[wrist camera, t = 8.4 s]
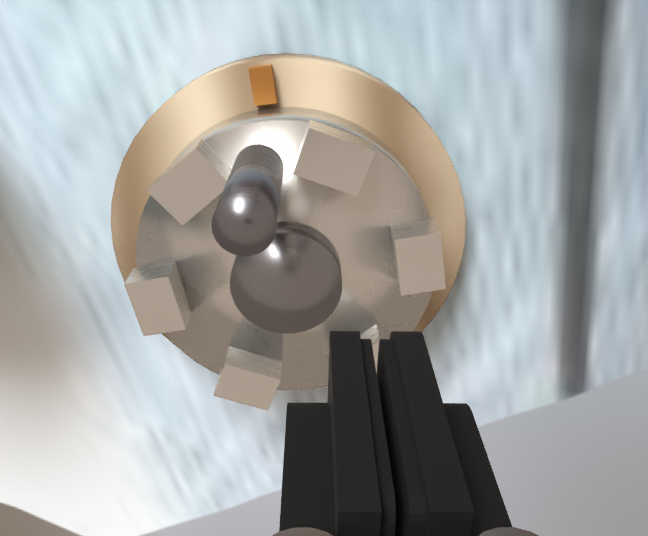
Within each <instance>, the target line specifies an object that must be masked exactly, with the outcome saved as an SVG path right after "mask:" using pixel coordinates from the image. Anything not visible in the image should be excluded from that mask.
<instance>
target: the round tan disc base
mask: <svg viewBox="0 0 648 536" xmlns="http://www.w3.org/2000/svg"><path fill="white" fill-rule="evenodd" d="M272 107H302V108H308V109H315V110H320V111H324V112H327V113H330V114H334V115H337V116H340V117H342V118H344V119H347V120H349V121H351V122H353V123H356V124H358V125H359V126H361V127H362V128H364V129H366V130H367V131H369V132H370V133H372V134H374V135H375V136H376V137H377V138H378V139H380V140H381V141H382V142H383V143H384V144H386V145H387V146H388V147H389V148H390V149H391V150H392V151H393V152H394V154H395V155H396V156H397V157H398V158H399V159H400V160H401V162H402V163H403V164H404V166H405V167H406V169H407V170H408V172H409V173H410V175H411V176H412V178H413V181H414V183H415V185H416V187H417V189H418V191H419V193H420V195H421V197H422V199H423V201H424V203H425V206H426V208H427V210H428V212H429V215H430V218H431V219H435V221H436V224H437V226H438V228H439V230H440V232H441V241H442V252H443V263H444V274H445V286H446V289H442V290H436V291H432V295H431V298H430V301H429V303H428V305H427V308H426V310H425V312H424V314H423V316H422V318H421V319H420V321H419V323H418V324H417V326H416V328H415V329H414V330H413V331H421V332H422V331H423V329H424V328H425V327H426V326H427V325H428V324H429V323H430V321H431V320H432V319H433V318H434V317H435V315H436V314H437V312H438V311H439V309H440V308H441V306H442V305H443V303H444V302H445V300H446V298H447V296H448V294H449V292H450V290H451V288H452V286H453V284H454V282H455V279H456V276H457V273H458V270H459V267H460V264H461V260H462V255H463V250H464V244H465V228H466V218H465V208H464V199H463V195H462V191H461V187H460V183H459V179H458V176H457V174H456V171H455V169H454V166H453V164H452V161H451V159H450V157H449V155H448V153H447V152H446V150H445V148H444V147H443V145H442V143H441V141H440V140H439V138H438V136H437V135H436V134H435V132H434V131H433V130H432V128H431V127H430V126H429V124H428V123H427V122H426V121H425V119H424V118H423V117H422V116H421V114H420V113H419V112H418V110H417V109H416V108H415V107H414V106H413V105H411V104H410V103H409V102H408V101H407V100H406V99H405V98H404V97H403V96H402V95H401V94H400V93H399V92H397V91H396V90H394V89H393V88H392V87H390V86H389V85H387V84H386V83H385V82H383V81H382V80H380V79H378V78H376V77H375V76H373V75H371V74H369V73H367V72H365V71H363V70H361V69H359V68H357V67H354V66H351V65H348V64H345V63H343V62H340V61H337V60H333V59H328V58H324V57H319V56H314V55H305V54H290V53H283V54H269V55H259V56H254V57H250V58H245V59H240V60H236V61H234V62H231V63H228V64H225V65H223V66H220V67H217V68H215V69H213V70H211V71H209V72H207V73H205V74H203V75H201V76H200V77H198V78H196V79H194V80H193V81H191V82H190V83H188V84H187V85H186V86H184V87H183V88H182V89H180V90H179V91H178V92H176V93H175V94H174V95H173V96H172V97H171V98H170V99H168V100H167V101H166V102H165V103H164V104H163V105H162V106H161V107H160V108H159V109H158V110H157V111H156V112H155V113H154V114H153V115H152V116H151V117H150V118H149V119H148V120H147V122H146V123H145V124H144V126H143V127H142V129H141V130H140V131H139V133H138V134H137V135H136V137H135V138H134V140H133V142H132V143H131V145H130V147H129V149H128V151H127V153H126V155H125V157H124V158H123V161H122V164H121V167H120V170H119V173H118V175H117V178H116V182H115V187H114V192H113V198H112V207H111V230H112V240H113V247H114V251H115V255H116V259H117V263H118V266H119V269H120V271H121V274H122V276H123V279H124V281H125V282H126V280H127V278H128V277H129V275H130V273H131V271H132V270H133V268H137V267H136V238H137V232H138V226H139V222H140V219H141V216H142V213H143V210H144V207H145V205H146V203H147V201H148V199H149V197H150V194H149V193H148V192H147V191H148V189H149V188H150V187H151V185H152V184H153V182H154V181H155V180H156V179H157V178H158V177H159V176H160V175H161V174H162V173H163V172H165V171H166V170H167V169H168V168H169V166H170V165H171V164H172V162H173V161H174V159H175V158H176V157H177V155H178V154H179V153H180V152H181V151H182V150H183V149H184V148H185V147H186V146H187V145H188V144H189V143H190V142H191V141H192V140H194V139H195V138H196V137H197V136H199V135H200V134H201V133H203V132H204V131H205V130H207V129H209V128H210V127H212V126H214V125H216V124H217V123H219V122H221V121H223V120H226V119H228V118H231V117H233V116H236V115H238V114H241V113H245V112H249V111H253V110H257V109H263V108H272ZM162 334H163V335H164V336H165V337H166V338H167V339H169V337H168V336H167V335H166V334H165V333H162ZM169 340H170V339H169ZM170 341H171V340H170ZM171 342H172V341H171ZM172 343H173V342H172ZM173 344H175V343H173ZM175 345H176V344H175ZM176 346H177V345H176ZM177 347H178V346H177ZM178 348H179V347H178Z"/></svg>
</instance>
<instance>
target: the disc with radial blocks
mask: <svg viewBox="0 0 648 536" xmlns="http://www.w3.org/2000/svg"><path fill="white" fill-rule="evenodd" d="M147 192H148V193H149V194H150V197H149V199H148V201H147V203H146V205H145V207H144V210H143V213H142V216H141V219H140V222H139V226H138V232H137V238H136V267H137V268H133V270H132V271H131V273H130V275H129V277H128V278H127V280H126V282H125V283H124V285H125V287H126V290H127V293H128V295H129V298H130V301H131V303H132V306H133V309H134V311H135V314H136V317H137V320H138V322H139V325H140V328H141V330H142V333H143V336H148V335H154V334H160V333H165V334H166V335H167V336H168V337H169V339H170V340H171V341H172V342H173V343H175V344H176V345H177V346H178V347H179V348H180V349H181V350H182V351H183V352H184V353H185V354H187V355H188V356H189V357H191V358H192V359H193V360H195V361H196V362H197V363H199V364H201V365H202V366H204V367H206V368H207V369H209V370H211V371H213V372H215V373H217V374H219V375H218V378H217V383H216V387H215V391H214V396H217V397H220V398H224V399H228V400H231V401H235V402H239V403H243V404H246V405H250V406H254V407H257V408H261V409H265V410H268V409H269V407H270V404H271V402H272V400H273V397H274V395H275V392H276V390H302V389H312V388H318V387H323V386H328V372H329V336H330V331H359V332H360V338H361V339H371V341H372V347H373V354H374V361H375V367H376V374H377V362H378V348H379V340H380V339H390V333H391V331H413V330H414V329H415V328H416V326H417V324H418V323H419V321H420V319H421V318H422V316H423V314H424V312H425V310H426V308H427V305H428V303H429V301H430V298H431V295H432V291H436V290H442V289H446V286H445V274H444V263H443V252H442V241H441V232H440V230H439V228H438V226H437V224H436V221H435V219H431V218H430V215H429V212H428V210H427V208H426V206H425V203H424V201H423V199H422V197H421V195H420V193H419V191H418V189H417V187H416V185H415V183H414V181H413V178H412V176H411V175H410V173H409V172H408V170H407V169H406V167H405V166H404V164H403V163H402V162H401V160H400V159H399V158H398V157H397V156H396V155H395V154H394V152H393V151H392V150H391V149H390V148H389V147H388V146H387V145H386V144H384V143H383V142H382V141H381V140H380V139H378V138H377V137H376V136H375V135H374V134H372V133H370V132H369V131H367V130H366V129H364V128H362V127H361V126H359V125H358V124H356V123H353V122H351V121H349V120H347V119H344V118H342V117H340V116H337V115H334V114H330V113H327V112H324V111H320V110H315V109H308V108H302V107H272V108H263V109H257V110H253V111H249V112H245V113H241V114H238V115H236V116H233V117H231V118H228V119H226V120H223V121H221V122H219V123H217V124H216V125H214V126H212V127H210V128H209V129H207V130H205V131H204V132H203V133H201V134H200V135H199V136H197V137H196V138H195V139H194V140H192V141H191V142H190V143H189V144H188V145H187V146H186V147H185V148H184V149H183V150H182V151H181V152H180V153H179V154H178V155H177V157H176V158H175V159H174V161H173V162H172V164H171V165H170V166H169V168H168V169H167V170H166V171H165V172H163V173H162V174H161V175H160V176H159V177H158V178H157V179H156V180H155V181H154V182H153V184H152V185H151V187H150V188H149V189H148V191H147Z"/></svg>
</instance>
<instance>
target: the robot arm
mask: <svg viewBox="0 0 648 536" xmlns="http://www.w3.org/2000/svg"><path fill="white" fill-rule="evenodd" d="M273 536H538V535H536V534H534V533H532V532H530V531H526V530H522V529H518V528H514V527H512V525H511V522H510V519H509V516H508V514H507V511H506V508H505V505H504V502H503V499H502V496H501V493H500V491H499V488H498V485H497V482H496V480H495V476H494V473H493V471H492V468H491V465H490V462H489V460H488V457H487V453H486V451H485V448H484V445H483V442H482V439H481V436H480V433H479V431H478V428H477V425H476V422H475V419H474V416H473V413H472V411H471V409H470V407H469V406H468V405H467V404H456V403H443V402H442V399H441V395H440V392H439V388H438V385H437V381H436V378H435V374H434V371H433V368H432V364H431V361H430V357H429V354H428V350H427V347H426V343H425V340H424V337H423V334H422V332H421V331H391V333H390V339H380V340H379V348H378V362H377V374H376V367H375V361H374V354H373V347H372V341H371V339H361V338H360V332H359V331H330V336H329V372H328V403H288V404H287V416H286V432H285V448H284V465H283V481H282V498H281V515H280V531H279V532H278V533H276V534H274V535H273Z"/></svg>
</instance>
